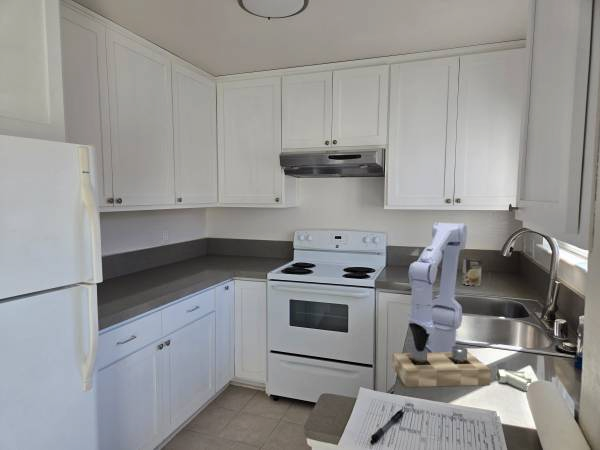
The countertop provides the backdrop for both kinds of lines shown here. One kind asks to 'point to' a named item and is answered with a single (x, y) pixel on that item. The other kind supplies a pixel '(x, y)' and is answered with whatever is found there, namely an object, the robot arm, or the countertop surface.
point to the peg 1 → (419, 356)
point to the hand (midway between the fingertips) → (419, 349)
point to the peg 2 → (459, 355)
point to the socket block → (440, 370)
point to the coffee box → (472, 271)
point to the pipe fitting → (514, 378)
